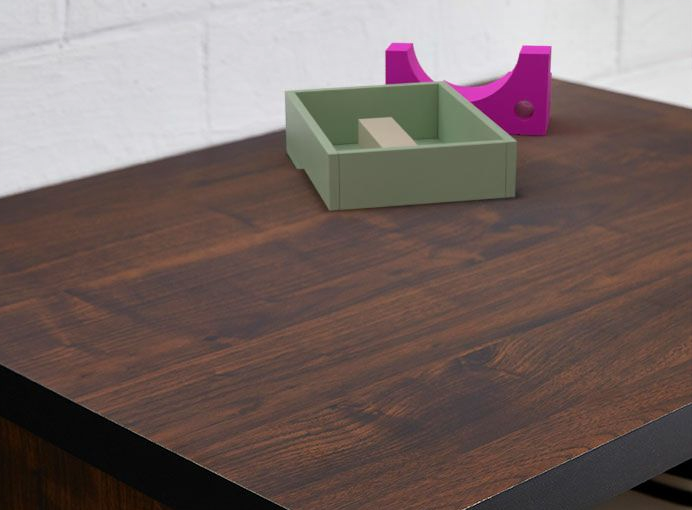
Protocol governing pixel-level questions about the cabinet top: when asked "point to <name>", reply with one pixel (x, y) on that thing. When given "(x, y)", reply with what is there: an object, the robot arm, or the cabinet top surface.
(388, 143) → the long cream beam
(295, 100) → the bin
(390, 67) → the toy block
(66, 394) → the cabinet top surface
